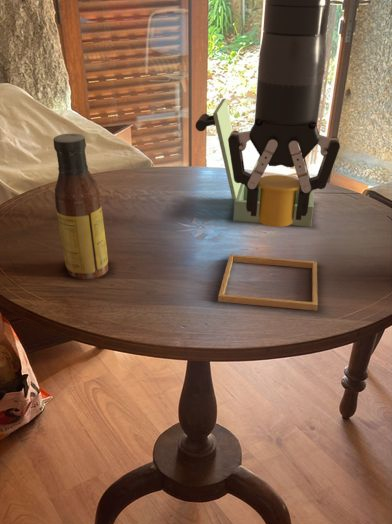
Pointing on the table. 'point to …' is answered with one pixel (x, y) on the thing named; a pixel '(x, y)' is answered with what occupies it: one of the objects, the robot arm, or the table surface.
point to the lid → (222, 138)
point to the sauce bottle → (79, 210)
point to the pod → (277, 200)
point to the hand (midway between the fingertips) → (276, 215)
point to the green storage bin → (245, 216)
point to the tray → (268, 301)
